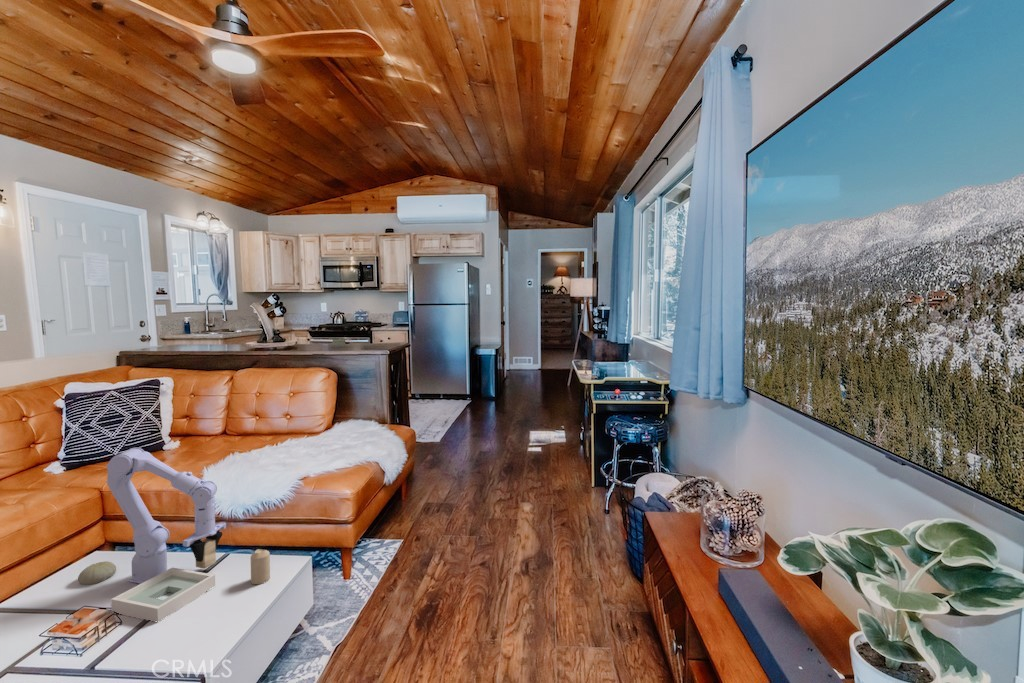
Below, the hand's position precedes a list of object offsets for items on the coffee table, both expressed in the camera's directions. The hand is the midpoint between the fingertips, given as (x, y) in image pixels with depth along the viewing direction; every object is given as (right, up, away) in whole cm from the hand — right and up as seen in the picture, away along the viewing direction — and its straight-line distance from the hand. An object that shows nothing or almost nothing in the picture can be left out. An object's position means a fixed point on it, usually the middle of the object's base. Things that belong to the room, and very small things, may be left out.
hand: (205, 557), depth 152 cm
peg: (0, -3, 0) cm, 2 cm away
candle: (+22, -5, -6) cm, 24 cm away
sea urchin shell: (-33, -5, -4) cm, 34 cm away
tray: (-1, -5, -16) cm, 17 cm away
